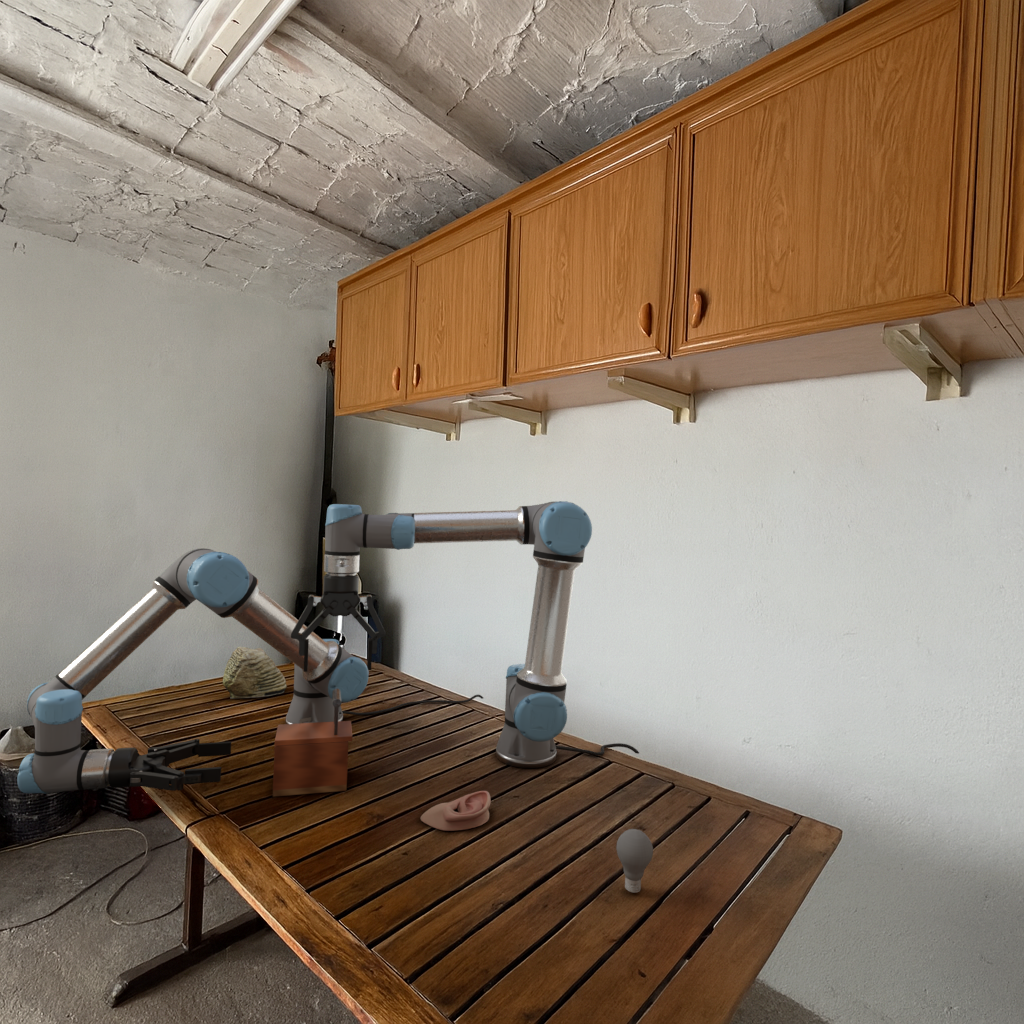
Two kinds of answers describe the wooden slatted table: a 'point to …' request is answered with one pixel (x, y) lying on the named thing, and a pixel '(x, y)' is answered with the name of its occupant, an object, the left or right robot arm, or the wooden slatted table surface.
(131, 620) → the left robot arm
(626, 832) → the light bulb
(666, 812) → the wooden slatted table surface
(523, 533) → the right robot arm
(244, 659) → the fossil
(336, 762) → the chest
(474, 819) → the anatomical model
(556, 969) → the wooden slatted table surface
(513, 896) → the wooden slatted table surface
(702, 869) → the wooden slatted table surface
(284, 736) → the lid
